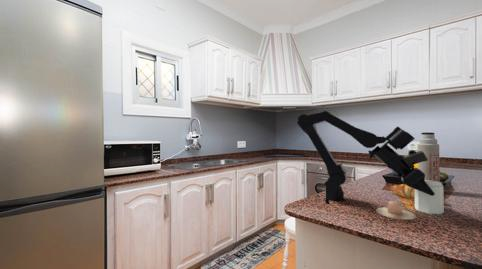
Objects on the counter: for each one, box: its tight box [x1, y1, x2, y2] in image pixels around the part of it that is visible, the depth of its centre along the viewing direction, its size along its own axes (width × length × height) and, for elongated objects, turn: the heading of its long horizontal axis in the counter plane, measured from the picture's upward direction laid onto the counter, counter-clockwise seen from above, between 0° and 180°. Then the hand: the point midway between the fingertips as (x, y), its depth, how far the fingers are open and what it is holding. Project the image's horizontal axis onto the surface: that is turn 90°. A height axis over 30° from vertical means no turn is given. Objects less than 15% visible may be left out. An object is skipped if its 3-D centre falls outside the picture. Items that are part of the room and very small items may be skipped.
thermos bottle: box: [416, 131, 441, 182], centre depth 106 cm, size 8×8×28 cm
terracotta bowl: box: [387, 200, 403, 215], centre depth 74 cm, size 4×4×4 cm
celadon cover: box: [414, 180, 445, 215], centre depth 77 cm, size 7×7×11 cm
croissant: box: [389, 183, 415, 200], centre depth 95 cm, size 21×10×8 cm, turn 21°
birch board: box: [375, 206, 417, 220], centre depth 74 cm, size 11×11×1 cm
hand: (429, 191), depth 76 cm, fingers open, 9 cm apart
